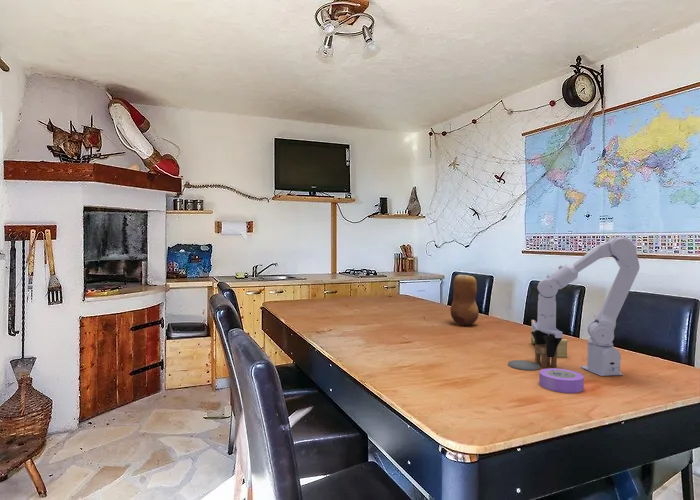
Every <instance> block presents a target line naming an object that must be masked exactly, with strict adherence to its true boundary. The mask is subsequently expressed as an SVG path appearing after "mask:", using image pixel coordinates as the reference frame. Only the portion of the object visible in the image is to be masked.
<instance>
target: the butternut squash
mask: <svg viewBox="0 0 700 500" xmlns="http://www.w3.org/2000/svg"><path fill="white" fill-rule="evenodd" d="M477 283H478V281H477V279H476V278H475V277H474V276H473V275H468V274H457V275H455V277H454V279H453V294H452V295H453V296H452V297H453V298H452V302H451V304H450V315H451V318H452V320H453V322H455V323H457V324H459V325H460V326H466V327H468V326H469V325H473V324H474V323H476V321H477V320H478V318H479V315H480V313H479V307H478V305H477V301H476V297H477V293H478V289H477V288H478V285H477Z"/></svg>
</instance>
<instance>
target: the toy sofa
mask: <svg viewBox="0 0 700 500" xmlns="http://www.w3.org/2000/svg"><path fill="white" fill-rule="evenodd" d="M530 322H531V325H532V324H536V323H537V321H536V320H535V319H531V321H530ZM532 331H535V329H532V327H531V328H530V344H531V345H536V342H535V339H534V337H533V335H532V334H531V332H532ZM548 336H549V334H548ZM568 342H569V341H568V339H566V338H565V339H563V338H562V340H561V341H560V343H559V345H558V347H557V358H567V357H568V356H567V355H568Z"/></svg>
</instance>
